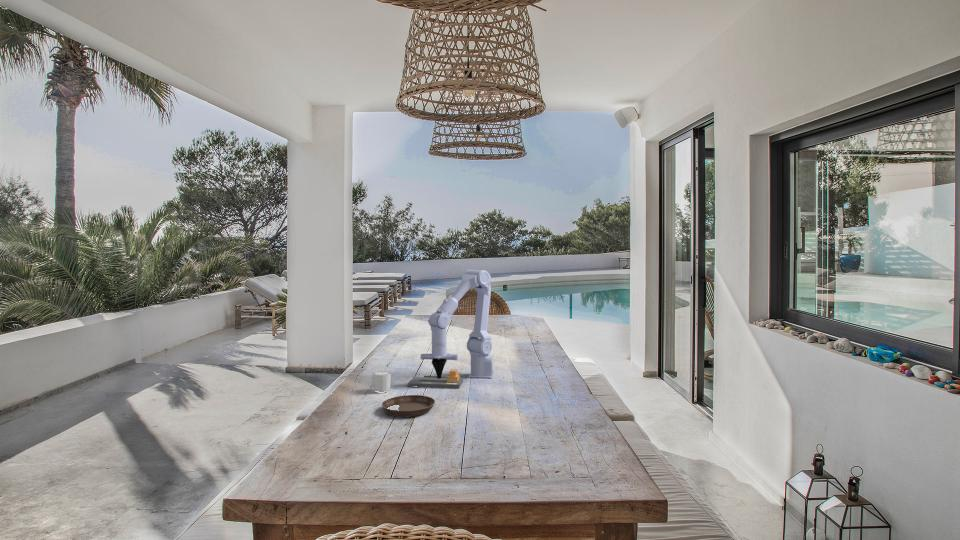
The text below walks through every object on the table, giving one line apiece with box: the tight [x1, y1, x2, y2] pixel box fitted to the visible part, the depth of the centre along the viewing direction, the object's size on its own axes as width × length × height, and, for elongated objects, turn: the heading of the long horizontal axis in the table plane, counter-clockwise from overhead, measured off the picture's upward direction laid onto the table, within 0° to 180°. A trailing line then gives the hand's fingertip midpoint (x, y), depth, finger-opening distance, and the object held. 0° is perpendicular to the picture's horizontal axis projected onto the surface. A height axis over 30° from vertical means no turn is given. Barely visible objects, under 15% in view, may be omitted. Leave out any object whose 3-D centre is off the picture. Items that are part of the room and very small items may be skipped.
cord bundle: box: [423, 375, 447, 378], centre depth 238 cm, size 12×2×1 cm, turn 82°
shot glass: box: [372, 370, 392, 392], centre depth 220 cm, size 7×7×7 cm
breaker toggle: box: [446, 368, 461, 382], centre depth 229 cm, size 4×5×4 cm
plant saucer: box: [381, 394, 436, 418], centre depth 196 cm, size 18×18×3 cm
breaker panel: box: [407, 376, 464, 390], centre depth 230 cm, size 20×10×2 cm, turn 82°
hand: (439, 378), depth 230 cm, fingers closed
